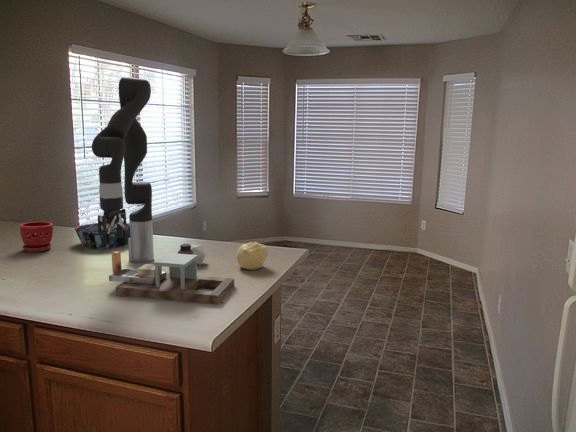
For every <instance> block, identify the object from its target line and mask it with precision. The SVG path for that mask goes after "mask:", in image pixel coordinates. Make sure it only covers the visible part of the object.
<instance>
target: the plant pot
mask: <svg viewBox="0 0 576 432" xmlns="http://www.w3.org/2000/svg"><path fill="white" fill-rule="evenodd" d="M19 232H20V237H21V241H22V242H23V246H22V249H23V250H24V251H26V252H29V253H33V252H34V253H35V252H44V251H47V250H49V249H50V248H51V247H52V242H51V241H52V239H53V233H54V224H53V223H52V222H49V221H48V222H47V221H31V222H25V223H21V224H20V225H19Z"/></svg>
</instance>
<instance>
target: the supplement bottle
mask: <svg viewBox="0 0 576 432" xmlns="http://www.w3.org/2000/svg"><path fill="white" fill-rule="evenodd" d="M191 245H192V244H191V243H182V244H180V247H179V248H180V249H179V250H178V251H177V254H190V255H193V250H191Z"/></svg>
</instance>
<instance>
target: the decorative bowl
mask: <svg viewBox="0 0 576 432" xmlns="http://www.w3.org/2000/svg"><path fill="white" fill-rule="evenodd" d="M106 224H107V223H106ZM102 227H103V226H101V229H102ZM116 228H117V227H116V225H115V224H114V225H113V227H112V228H111V229H110V232H109V234H110V244H104V243H103V234H102V233H98V222H94V223H93V222H92V223H88V224H81V225H78V226H76V227H74V228H73V230H74V231H75V233H76V235H77V237H78V239H79V242H80V244H81V245H82V246H84V247H86V248H90V249H92V250H96V249H97V250H108V249H115V248H120V247H121V248H122V247H124V246H126V245H128V239H129V238H130V223H126V225H124V227H123V238H117V234H116ZM106 230H107V228H106Z"/></svg>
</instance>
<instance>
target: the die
mask: <svg viewBox="0 0 576 432" xmlns="http://www.w3.org/2000/svg"><path fill="white" fill-rule="evenodd" d="M190 245H191V250H193V255H198V259H197V265H198V266H199V265H200V266H201V265H202V264H203V263H204V260H205V258H206V257H207V253H206V251H205V249H204V247H203V244H190Z"/></svg>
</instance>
